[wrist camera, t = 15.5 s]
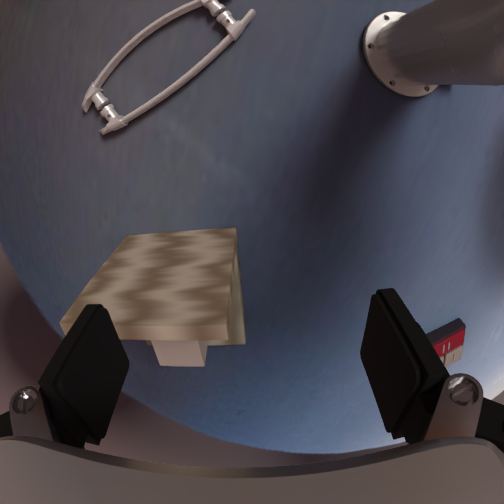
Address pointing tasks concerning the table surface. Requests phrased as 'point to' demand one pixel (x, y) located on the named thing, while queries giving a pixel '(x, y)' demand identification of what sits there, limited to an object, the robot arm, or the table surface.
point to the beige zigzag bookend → (171, 288)
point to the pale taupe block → (180, 352)
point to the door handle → (119, 121)
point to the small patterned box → (448, 341)
